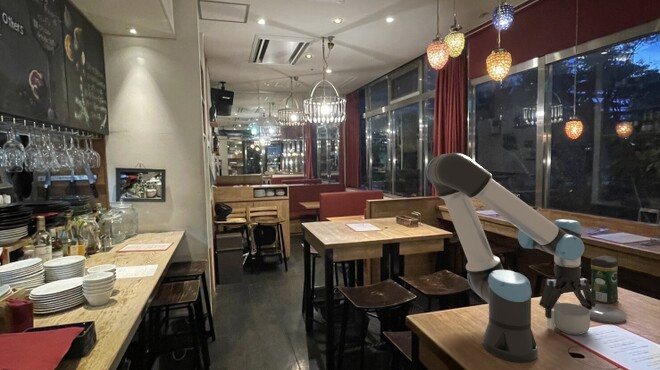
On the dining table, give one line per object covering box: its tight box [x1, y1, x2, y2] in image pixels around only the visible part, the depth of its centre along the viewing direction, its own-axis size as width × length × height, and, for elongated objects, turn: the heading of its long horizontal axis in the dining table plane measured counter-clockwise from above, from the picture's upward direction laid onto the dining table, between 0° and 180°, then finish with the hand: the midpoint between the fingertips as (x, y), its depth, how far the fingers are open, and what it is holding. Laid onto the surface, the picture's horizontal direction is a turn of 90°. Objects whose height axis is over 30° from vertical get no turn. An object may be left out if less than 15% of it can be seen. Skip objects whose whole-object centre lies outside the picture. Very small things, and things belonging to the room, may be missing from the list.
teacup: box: [552, 300, 591, 336], centre depth 119 cm, size 14×11×8 cm
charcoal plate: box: [579, 303, 627, 325], centre depth 129 cm, size 15×15×2 cm
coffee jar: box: [590, 255, 619, 304], centre depth 143 cm, size 10×8×19 cm
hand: (567, 326), depth 119 cm, fingers closed on teacup, 11 cm apart
